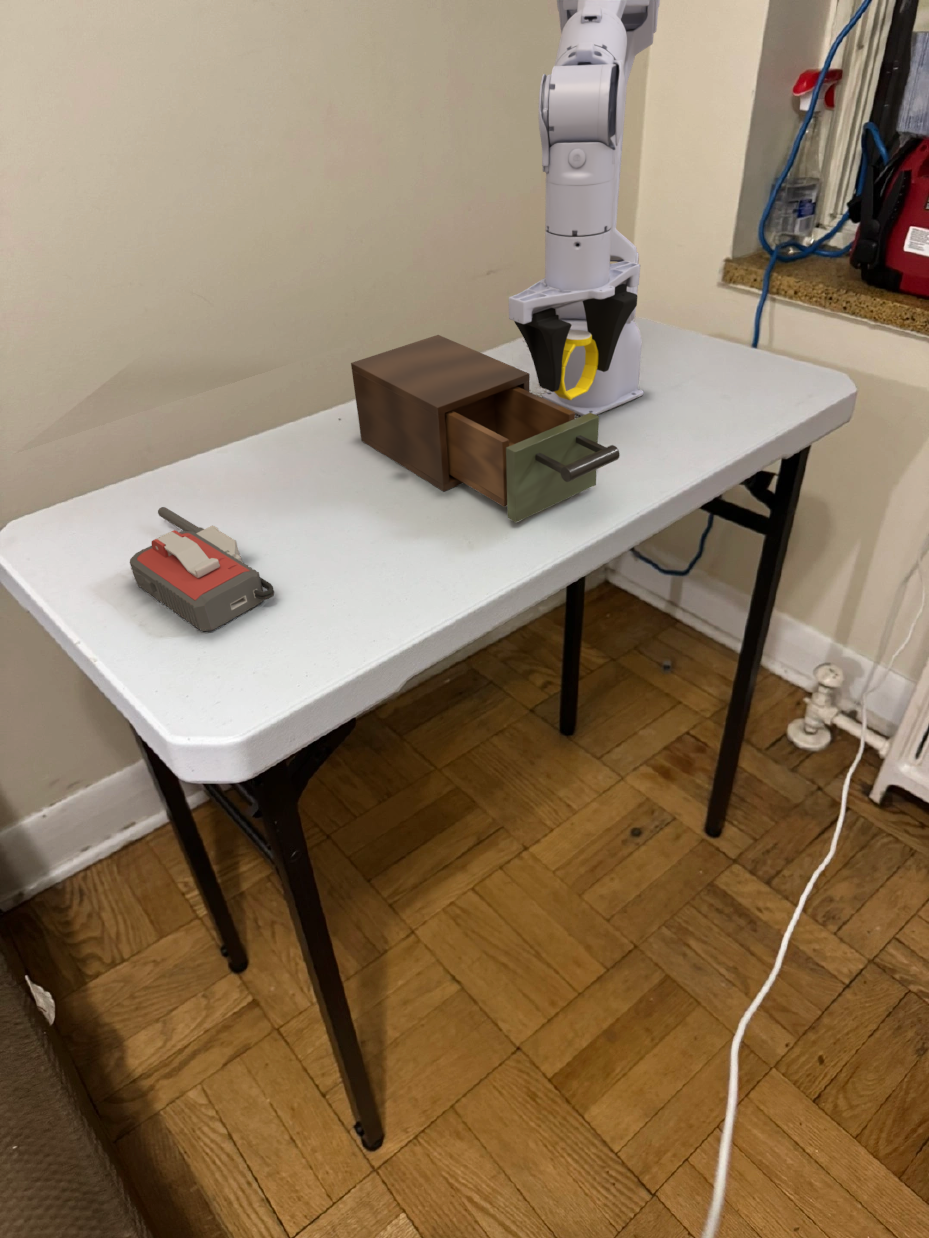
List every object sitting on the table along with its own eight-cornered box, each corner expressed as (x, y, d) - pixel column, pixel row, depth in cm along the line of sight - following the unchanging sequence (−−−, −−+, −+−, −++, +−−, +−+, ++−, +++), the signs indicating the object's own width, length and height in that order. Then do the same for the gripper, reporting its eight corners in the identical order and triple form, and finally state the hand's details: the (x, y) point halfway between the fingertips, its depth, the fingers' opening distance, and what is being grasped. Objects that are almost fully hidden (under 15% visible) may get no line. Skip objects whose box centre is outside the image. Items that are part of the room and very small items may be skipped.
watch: (567, 409, 82) (569, 347, 78) (544, 402, 83) (544, 341, 80) (603, 388, 85) (606, 328, 82) (580, 381, 87) (582, 322, 83)
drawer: (632, 503, 82) (638, 433, 78) (551, 544, 77) (552, 471, 73) (501, 436, 95) (500, 372, 90) (424, 468, 90) (419, 402, 85)
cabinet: (530, 454, 93) (529, 373, 87) (443, 492, 87) (437, 408, 82) (443, 410, 103) (438, 334, 97) (361, 440, 97) (350, 362, 92)
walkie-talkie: (297, 593, 75) (173, 517, 86) (288, 551, 72) (162, 478, 83) (212, 643, 70) (92, 556, 81) (198, 600, 67) (77, 515, 79)
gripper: (547, 255, 69) (546, 413, 77) (670, 219, 76) (656, 368, 84) (491, 239, 74) (495, 390, 82) (611, 206, 80) (604, 349, 89)
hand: (573, 378), depth 83 cm, fingers closed on watch, 6 cm apart
